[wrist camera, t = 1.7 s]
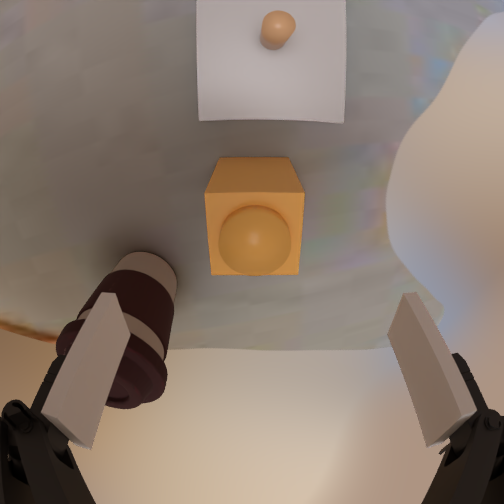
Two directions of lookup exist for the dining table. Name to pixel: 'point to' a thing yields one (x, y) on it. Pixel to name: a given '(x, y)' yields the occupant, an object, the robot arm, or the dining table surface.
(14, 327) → the dining table surface
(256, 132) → the dining table surface
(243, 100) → the white pegged board
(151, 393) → the coffee cup
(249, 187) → the orange toy brick
